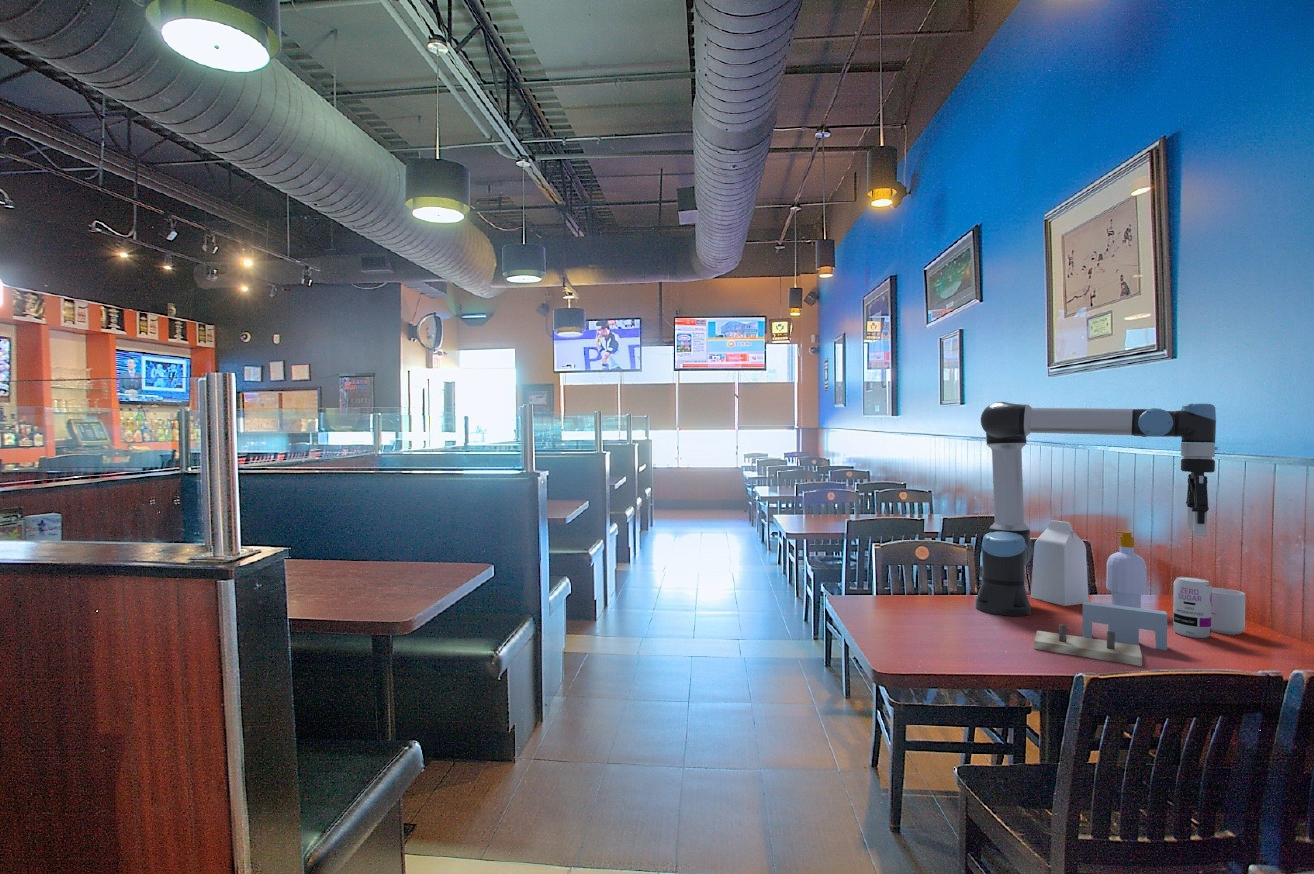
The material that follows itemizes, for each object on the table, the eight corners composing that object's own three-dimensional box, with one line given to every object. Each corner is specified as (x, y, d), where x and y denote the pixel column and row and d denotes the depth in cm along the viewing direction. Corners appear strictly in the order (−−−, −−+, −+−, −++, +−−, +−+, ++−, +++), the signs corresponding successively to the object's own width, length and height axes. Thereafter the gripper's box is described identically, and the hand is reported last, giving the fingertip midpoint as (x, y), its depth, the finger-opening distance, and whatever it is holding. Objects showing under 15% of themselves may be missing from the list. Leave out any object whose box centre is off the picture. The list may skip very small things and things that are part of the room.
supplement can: (1202, 631, 185) (1203, 577, 185) (1216, 640, 177) (1217, 583, 177) (1167, 628, 188) (1168, 575, 188) (1180, 636, 180) (1180, 581, 180)
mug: (1253, 635, 182) (1254, 594, 182) (1222, 635, 181) (1223, 594, 181) (1214, 623, 194) (1214, 585, 194) (1185, 623, 193) (1186, 585, 193)
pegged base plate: (1034, 648, 168) (1034, 624, 168) (1037, 637, 177) (1037, 615, 177) (1142, 666, 156) (1142, 640, 156) (1139, 653, 165) (1139, 629, 165)
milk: (1030, 597, 223) (1031, 519, 223) (1053, 594, 228) (1054, 518, 228) (1064, 605, 212) (1065, 524, 212) (1088, 602, 217) (1089, 522, 217)
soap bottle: (1106, 603, 216) (1107, 528, 216) (1145, 608, 210) (1146, 531, 210) (1105, 609, 208) (1106, 532, 208) (1146, 614, 202) (1147, 535, 202)
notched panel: (1082, 637, 178) (1082, 604, 178) (1082, 634, 181) (1082, 601, 181) (1166, 650, 168) (1167, 614, 168) (1165, 646, 171) (1165, 611, 171)
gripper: (1223, 459, 176) (1221, 539, 176) (1207, 457, 198) (1206, 529, 198) (1187, 458, 180) (1185, 536, 180) (1175, 456, 202) (1174, 526, 202)
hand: (1196, 532), depth 189 cm, fingers open, 13 cm apart
